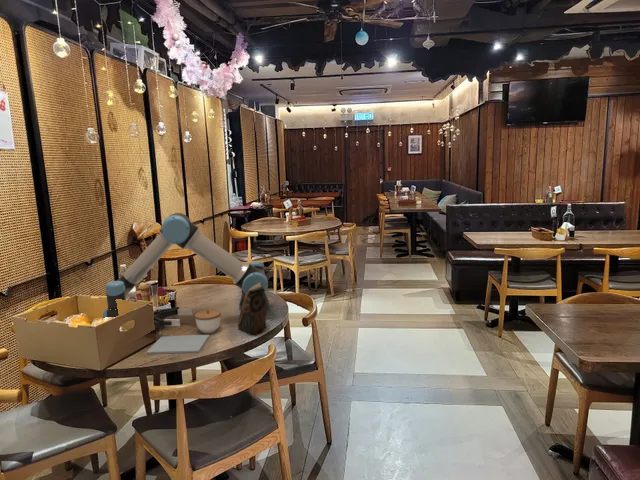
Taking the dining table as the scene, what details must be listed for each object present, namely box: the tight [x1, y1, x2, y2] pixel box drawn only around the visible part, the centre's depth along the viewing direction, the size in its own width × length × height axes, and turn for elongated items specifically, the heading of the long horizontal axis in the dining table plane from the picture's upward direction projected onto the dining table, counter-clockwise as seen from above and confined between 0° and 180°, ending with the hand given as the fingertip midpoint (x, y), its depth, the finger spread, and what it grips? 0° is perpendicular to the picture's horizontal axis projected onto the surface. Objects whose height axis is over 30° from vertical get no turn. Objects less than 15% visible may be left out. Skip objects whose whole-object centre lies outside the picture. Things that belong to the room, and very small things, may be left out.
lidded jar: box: [194, 309, 222, 334], centre depth 190 cm, size 11×11×9 cm
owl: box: [237, 282, 267, 336], centre depth 187 cm, size 13×13×20 cm
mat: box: [146, 334, 210, 355], centre depth 176 cm, size 20×16×1 cm
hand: (186, 317), depth 190 cm, fingers open, 13 cm apart
